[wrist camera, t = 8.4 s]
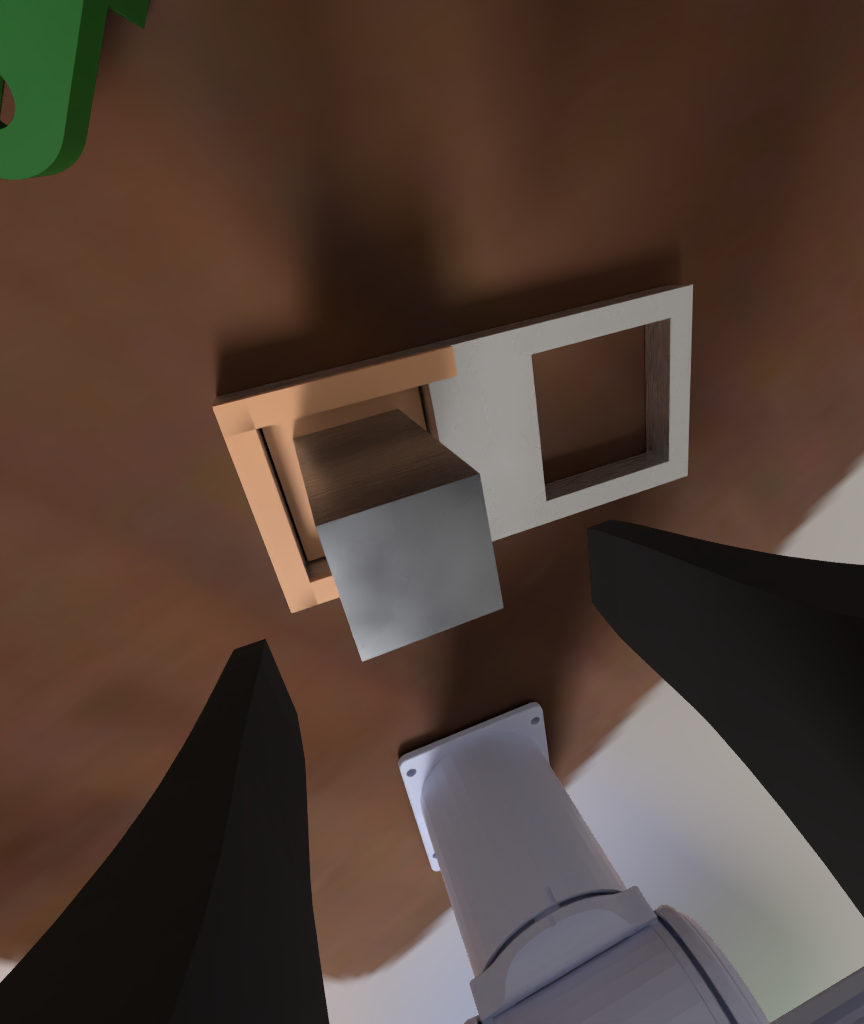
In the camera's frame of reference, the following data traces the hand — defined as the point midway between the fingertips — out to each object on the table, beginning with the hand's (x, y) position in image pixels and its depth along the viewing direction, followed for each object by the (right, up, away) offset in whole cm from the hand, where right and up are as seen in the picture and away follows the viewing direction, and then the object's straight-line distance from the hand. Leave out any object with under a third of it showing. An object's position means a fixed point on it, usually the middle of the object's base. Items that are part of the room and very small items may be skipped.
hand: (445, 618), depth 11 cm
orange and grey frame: (+2, +5, +10) cm, 11 cm away
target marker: (-3, +4, +9) cm, 10 cm away
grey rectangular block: (-3, +4, +9) cm, 10 cm away
